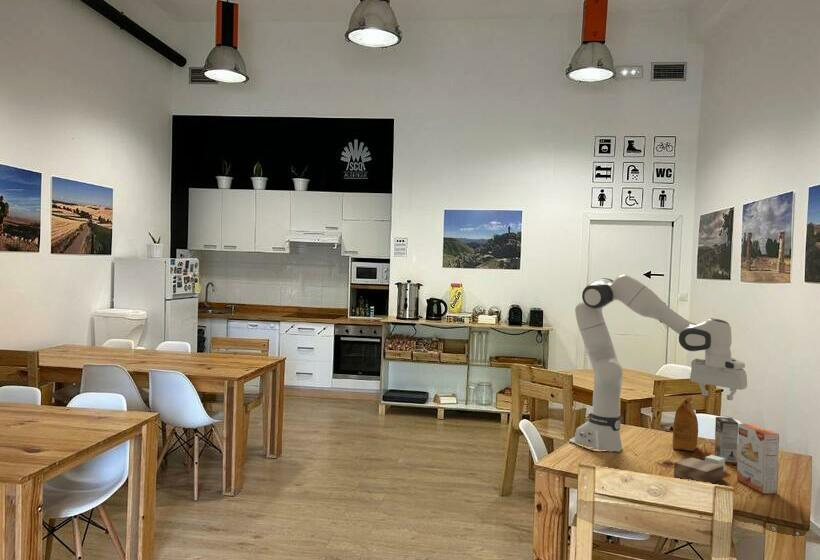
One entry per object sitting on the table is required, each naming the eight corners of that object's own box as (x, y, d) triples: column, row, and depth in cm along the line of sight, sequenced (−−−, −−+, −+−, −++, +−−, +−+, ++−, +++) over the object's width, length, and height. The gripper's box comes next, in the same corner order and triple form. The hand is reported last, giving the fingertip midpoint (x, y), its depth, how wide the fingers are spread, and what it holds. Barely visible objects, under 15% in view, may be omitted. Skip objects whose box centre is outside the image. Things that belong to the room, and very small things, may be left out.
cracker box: (735, 480, 218) (737, 422, 218) (751, 480, 218) (753, 423, 218) (761, 494, 204) (763, 433, 204) (778, 494, 204) (780, 433, 204)
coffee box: (713, 454, 249) (714, 416, 249) (730, 456, 248) (731, 417, 247) (720, 461, 240) (721, 421, 240) (737, 462, 239) (739, 422, 238)
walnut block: (673, 476, 221) (674, 462, 220) (690, 470, 228) (691, 457, 228) (706, 485, 211) (706, 471, 211) (722, 479, 218) (723, 465, 218)
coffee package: (701, 447, 259) (702, 396, 259) (694, 453, 249) (696, 401, 249) (676, 443, 265) (678, 393, 265) (669, 449, 256) (670, 397, 255)
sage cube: (704, 470, 229) (705, 457, 229) (711, 467, 232) (711, 454, 232) (717, 473, 225) (718, 460, 225) (724, 471, 228) (724, 458, 228)
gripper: (687, 358, 235) (686, 393, 235) (741, 365, 218) (740, 403, 218) (695, 357, 238) (695, 392, 239) (749, 364, 222) (748, 401, 222)
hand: (717, 397), depth 228 cm, fingers open, 8 cm apart
